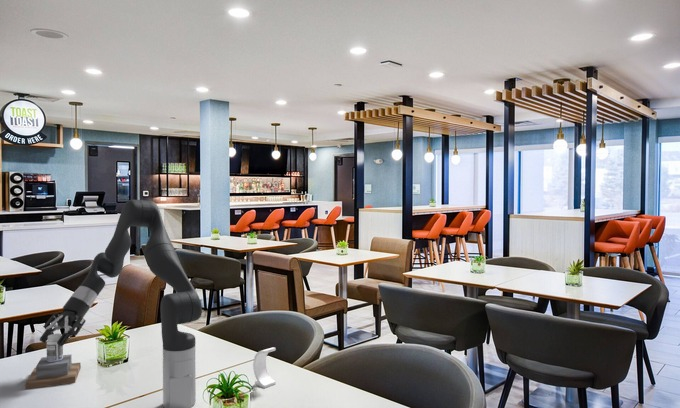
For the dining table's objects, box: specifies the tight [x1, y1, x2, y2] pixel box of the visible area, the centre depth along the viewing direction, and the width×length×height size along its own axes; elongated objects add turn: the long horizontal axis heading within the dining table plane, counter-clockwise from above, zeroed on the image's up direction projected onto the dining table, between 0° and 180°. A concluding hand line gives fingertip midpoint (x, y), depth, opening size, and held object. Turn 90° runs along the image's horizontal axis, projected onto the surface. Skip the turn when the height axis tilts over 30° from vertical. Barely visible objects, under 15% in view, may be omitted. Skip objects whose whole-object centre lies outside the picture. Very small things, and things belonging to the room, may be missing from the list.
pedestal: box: [24, 354, 81, 390], centre depth 163 cm, size 14×14×6 cm
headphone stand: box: [252, 347, 277, 389], centre depth 159 cm, size 5×6×12 cm
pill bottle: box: [45, 333, 64, 362], centre depth 163 cm, size 5×5×8 cm
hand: (50, 343), depth 161 cm, fingers open, 8 cm apart
